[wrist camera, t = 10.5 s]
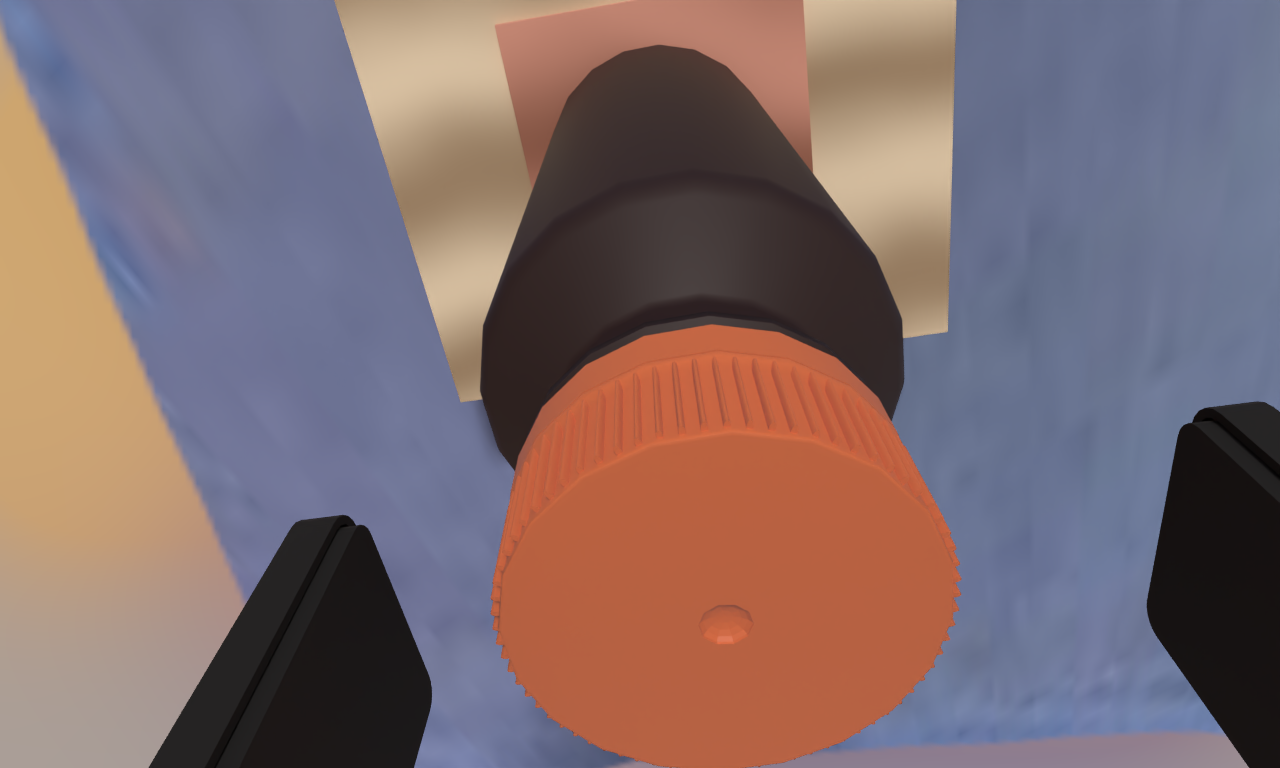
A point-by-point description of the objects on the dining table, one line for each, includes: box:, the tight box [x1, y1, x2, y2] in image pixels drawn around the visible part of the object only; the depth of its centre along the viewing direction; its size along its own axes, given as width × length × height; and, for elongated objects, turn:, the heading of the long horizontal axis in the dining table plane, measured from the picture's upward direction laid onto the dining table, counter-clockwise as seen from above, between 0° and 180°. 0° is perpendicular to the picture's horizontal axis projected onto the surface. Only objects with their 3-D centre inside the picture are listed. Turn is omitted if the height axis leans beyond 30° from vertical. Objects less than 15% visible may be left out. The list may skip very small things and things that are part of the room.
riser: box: [334, 0, 956, 402], centre depth 28 cm, size 16×18×5 cm
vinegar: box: [480, 45, 961, 768], centre depth 17 cm, size 7×7×20 cm
